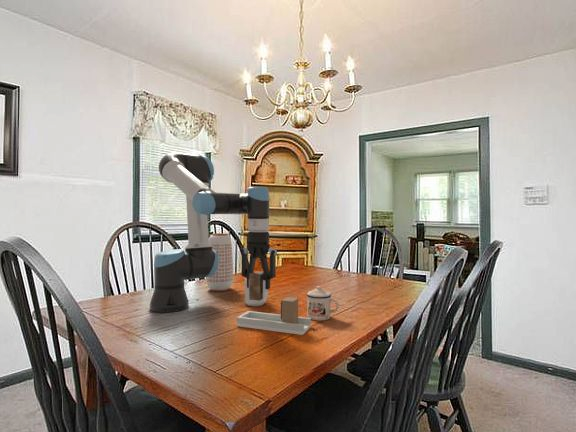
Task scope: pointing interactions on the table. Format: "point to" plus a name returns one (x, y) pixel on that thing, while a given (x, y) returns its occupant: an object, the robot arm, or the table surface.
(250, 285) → the block
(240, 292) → the table surface
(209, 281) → the white patterned vase
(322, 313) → the teacup with lid
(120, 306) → the table surface
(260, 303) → the mug
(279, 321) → the rail
